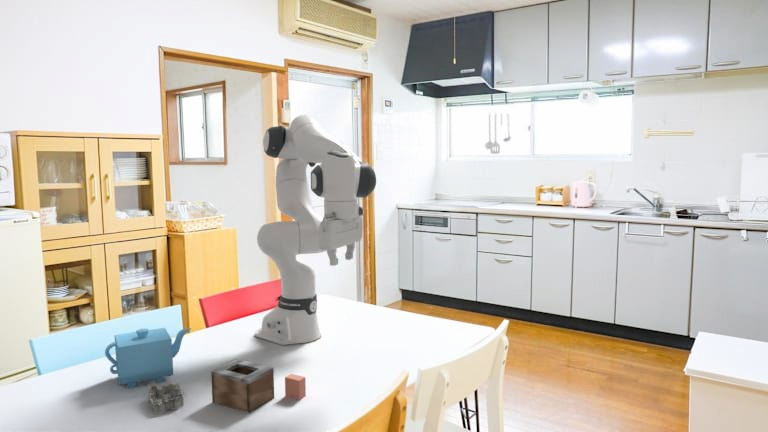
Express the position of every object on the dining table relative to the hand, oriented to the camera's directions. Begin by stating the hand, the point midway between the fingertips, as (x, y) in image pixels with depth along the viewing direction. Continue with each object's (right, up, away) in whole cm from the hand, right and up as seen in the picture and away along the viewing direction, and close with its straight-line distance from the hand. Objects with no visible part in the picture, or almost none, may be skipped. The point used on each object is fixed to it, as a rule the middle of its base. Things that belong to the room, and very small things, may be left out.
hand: (341, 262), depth 150 cm
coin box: (-24, -33, -12) cm, 43 cm away
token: (-11, -33, -9) cm, 36 cm away
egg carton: (-42, -34, -13) cm, 56 cm away
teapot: (-52, -32, +2) cm, 61 cm away
